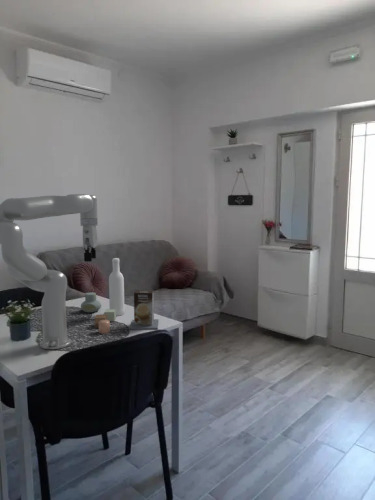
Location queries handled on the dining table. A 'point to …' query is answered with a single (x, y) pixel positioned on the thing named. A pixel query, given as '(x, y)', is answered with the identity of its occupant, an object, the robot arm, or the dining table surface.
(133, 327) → the slate mat
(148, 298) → the coffee box
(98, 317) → the walnut block
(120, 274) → the bottle
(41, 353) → the dining table surface
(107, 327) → the terracotta cylinder
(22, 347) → the dining table surface
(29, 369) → the dining table surface
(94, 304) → the air freshener
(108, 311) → the sage block
